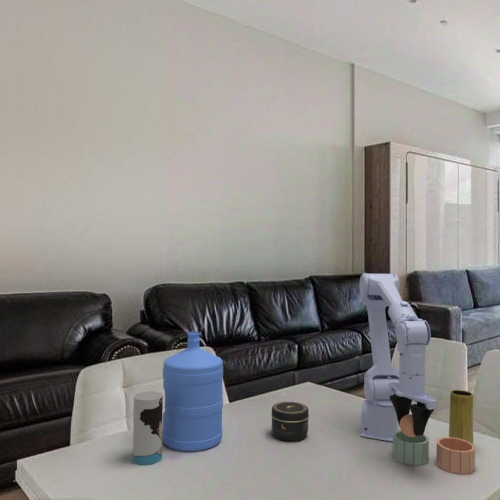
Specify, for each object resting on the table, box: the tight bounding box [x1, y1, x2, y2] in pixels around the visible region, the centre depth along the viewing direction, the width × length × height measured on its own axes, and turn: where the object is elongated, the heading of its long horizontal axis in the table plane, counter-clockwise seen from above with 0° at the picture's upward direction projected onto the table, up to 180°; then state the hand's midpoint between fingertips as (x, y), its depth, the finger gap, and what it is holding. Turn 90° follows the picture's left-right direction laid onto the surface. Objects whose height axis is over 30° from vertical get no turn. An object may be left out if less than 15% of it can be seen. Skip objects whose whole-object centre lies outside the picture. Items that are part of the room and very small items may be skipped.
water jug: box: [162, 331, 224, 452], centre depth 125 cm, size 16×16×28 cm
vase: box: [448, 389, 474, 445], centre depth 122 cm, size 6×6×14 cm
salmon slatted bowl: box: [435, 436, 476, 475], centre depth 112 cm, size 8×8×5 cm
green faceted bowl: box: [392, 429, 430, 466], centre depth 116 cm, size 8×8×5 cm
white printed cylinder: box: [132, 390, 164, 466], centre depth 114 cm, size 7×7×15 cm
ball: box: [399, 413, 416, 437], centre depth 112 cm, size 5×5×5 cm
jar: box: [270, 401, 310, 443], centre depth 129 cm, size 10×10×8 cm
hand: (410, 430), depth 112 cm, fingers closed on ball, 5 cm apart
